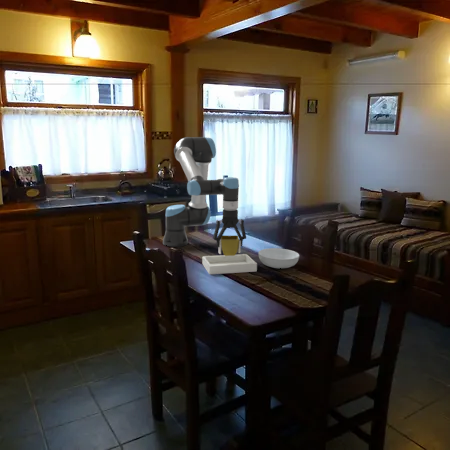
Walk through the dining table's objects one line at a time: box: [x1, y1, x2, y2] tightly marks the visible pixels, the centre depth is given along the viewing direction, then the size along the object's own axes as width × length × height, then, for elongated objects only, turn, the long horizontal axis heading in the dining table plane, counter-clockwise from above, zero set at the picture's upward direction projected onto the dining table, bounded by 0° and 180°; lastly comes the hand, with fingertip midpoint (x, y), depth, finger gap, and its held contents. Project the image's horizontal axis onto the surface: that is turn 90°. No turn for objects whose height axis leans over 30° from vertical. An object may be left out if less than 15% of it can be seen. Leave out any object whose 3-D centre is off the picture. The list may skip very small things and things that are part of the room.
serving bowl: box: [258, 247, 300, 269], centre depth 221 cm, size 21×21×7 cm
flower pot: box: [220, 235, 240, 256], centre depth 215 cm, size 9×9×9 cm
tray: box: [201, 253, 258, 275], centre depth 217 cm, size 17×24×4 cm
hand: (229, 252), depth 215 cm, fingers closed on flower pot, 9 cm apart
